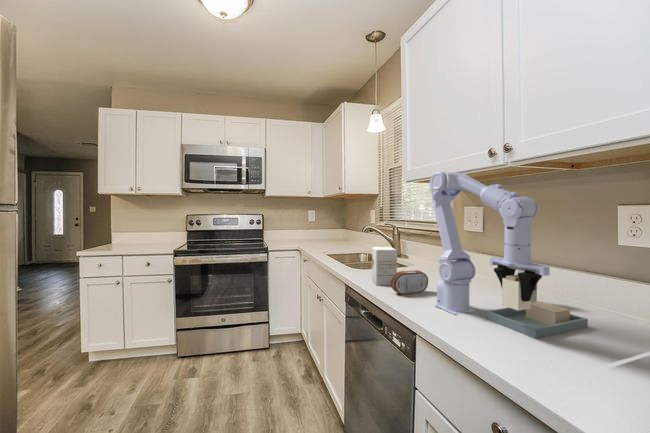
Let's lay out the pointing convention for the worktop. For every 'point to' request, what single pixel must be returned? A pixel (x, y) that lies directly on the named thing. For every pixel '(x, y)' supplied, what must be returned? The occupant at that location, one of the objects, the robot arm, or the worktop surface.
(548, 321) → the tan stepped block
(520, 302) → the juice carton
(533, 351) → the worktop surface
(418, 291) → the tin
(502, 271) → the robot arm
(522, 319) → the tray
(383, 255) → the supplement box
